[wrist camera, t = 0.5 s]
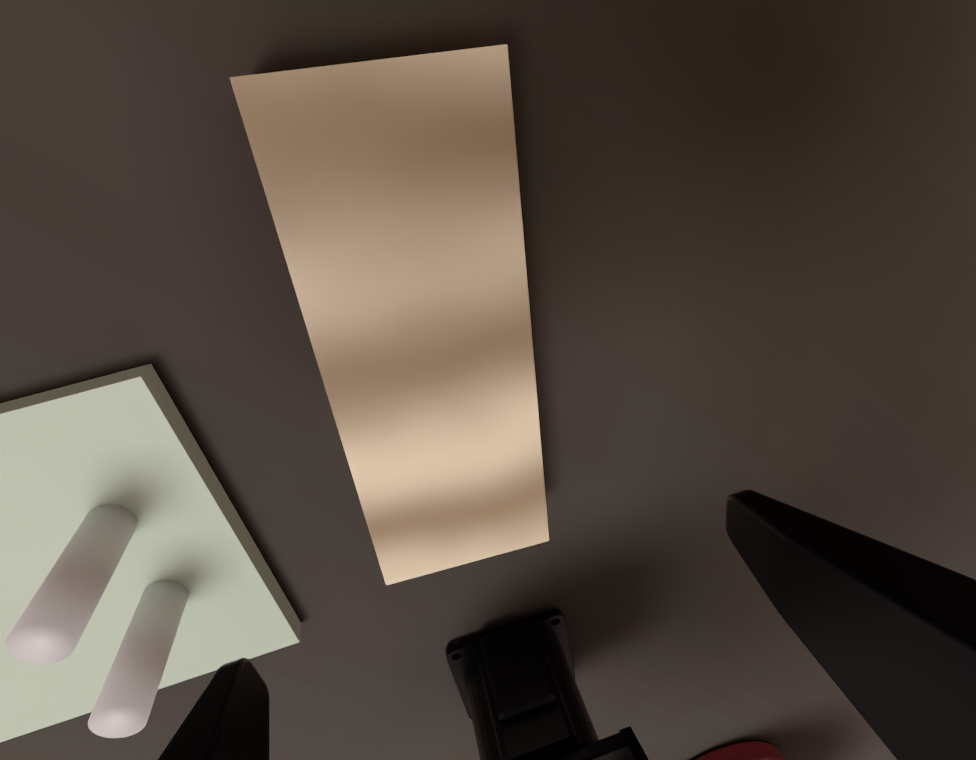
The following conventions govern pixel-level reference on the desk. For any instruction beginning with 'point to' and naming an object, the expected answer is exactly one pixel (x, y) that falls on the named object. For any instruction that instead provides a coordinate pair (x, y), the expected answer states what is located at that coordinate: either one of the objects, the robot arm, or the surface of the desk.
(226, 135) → the desk surface
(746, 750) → the canister
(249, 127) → the shelf board
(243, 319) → the desk surface
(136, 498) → the peg plate
